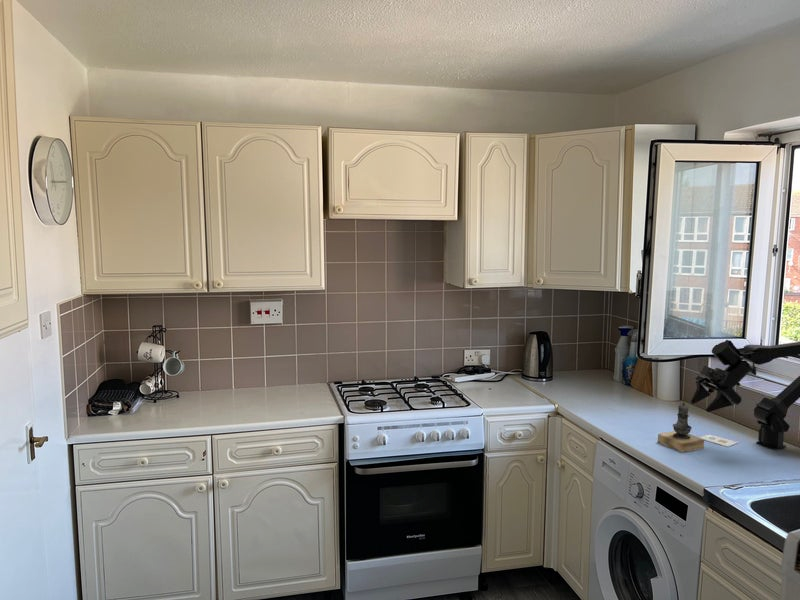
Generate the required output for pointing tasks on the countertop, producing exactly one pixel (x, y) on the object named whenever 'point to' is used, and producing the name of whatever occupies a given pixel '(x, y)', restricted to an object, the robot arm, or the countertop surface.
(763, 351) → the robot arm
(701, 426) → the countertop surface
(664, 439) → the base brick
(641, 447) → the countertop surface
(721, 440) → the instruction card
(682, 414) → the weathered stone finial
